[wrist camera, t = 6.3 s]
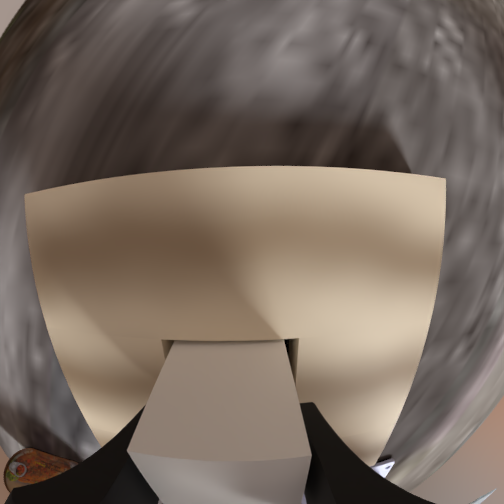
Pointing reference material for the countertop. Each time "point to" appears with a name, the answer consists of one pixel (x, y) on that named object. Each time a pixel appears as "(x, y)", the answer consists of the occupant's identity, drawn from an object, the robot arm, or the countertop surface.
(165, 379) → the keyed peg
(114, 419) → the socket plate
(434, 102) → the countertop surface
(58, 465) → the tin
